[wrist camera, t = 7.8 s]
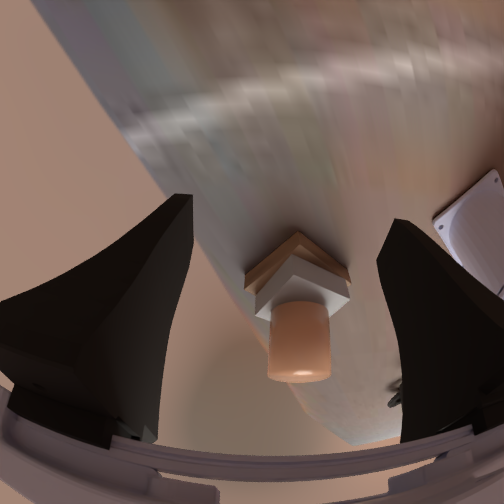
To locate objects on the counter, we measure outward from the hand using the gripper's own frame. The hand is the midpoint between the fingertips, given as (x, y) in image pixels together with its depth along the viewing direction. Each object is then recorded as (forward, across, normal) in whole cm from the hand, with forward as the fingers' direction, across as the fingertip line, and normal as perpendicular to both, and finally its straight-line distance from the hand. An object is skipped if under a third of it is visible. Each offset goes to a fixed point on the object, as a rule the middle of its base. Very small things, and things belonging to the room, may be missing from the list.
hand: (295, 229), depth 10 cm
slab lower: (+11, -3, +12) cm, 17 cm away
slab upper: (+9, -4, +12) cm, 15 cm away
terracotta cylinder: (+6, -3, +12) cm, 14 cm away
